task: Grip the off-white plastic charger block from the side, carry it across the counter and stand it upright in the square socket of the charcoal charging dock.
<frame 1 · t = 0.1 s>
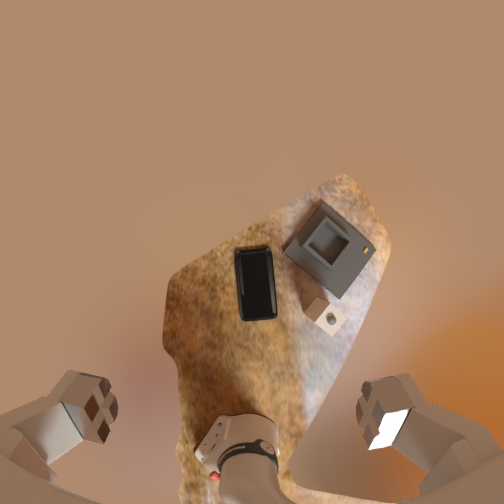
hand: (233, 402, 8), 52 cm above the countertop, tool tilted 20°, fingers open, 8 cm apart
dock: (331, 250, 60), on the countertop
charger: (317, 311, 59), on the countertop
phone: (255, 284, 60), on the countertop
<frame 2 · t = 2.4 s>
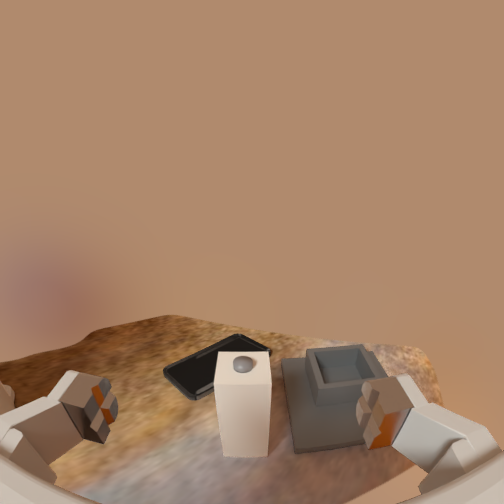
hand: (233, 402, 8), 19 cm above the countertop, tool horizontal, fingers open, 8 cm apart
dock: (342, 397, 31), on the countertop
charger: (245, 441, 25), on the countertop
phone: (218, 367, 38), on the countertop
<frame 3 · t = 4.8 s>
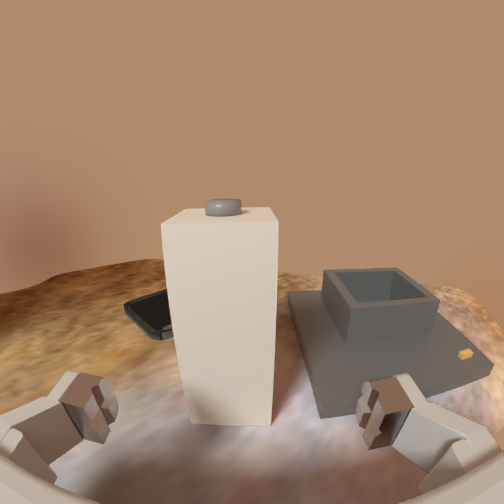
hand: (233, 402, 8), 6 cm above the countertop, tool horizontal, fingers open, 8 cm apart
dock: (380, 336, 21), on the countertop
charger: (232, 399, 15), on the countertop
phone: (201, 306, 29), on the countertop
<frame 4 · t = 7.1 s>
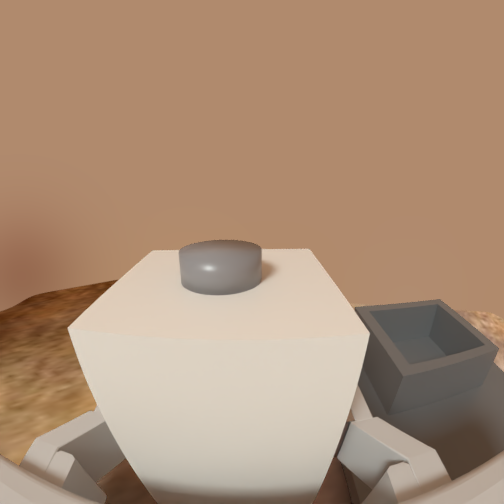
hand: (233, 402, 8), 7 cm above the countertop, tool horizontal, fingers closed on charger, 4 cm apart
dock: (423, 392, 14), on the countertop
charger: (240, 503, 9), on the countertop, touching gripper
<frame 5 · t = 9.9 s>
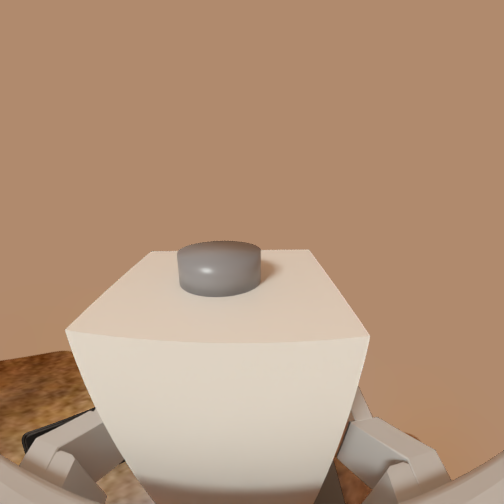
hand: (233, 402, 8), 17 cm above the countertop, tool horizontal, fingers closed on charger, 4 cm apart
phone: (89, 446, 19), on the countertop
when the fingers open (9 cm above the countertop, at t = 12.8 s): charger drops 1 cm, resting on dock.
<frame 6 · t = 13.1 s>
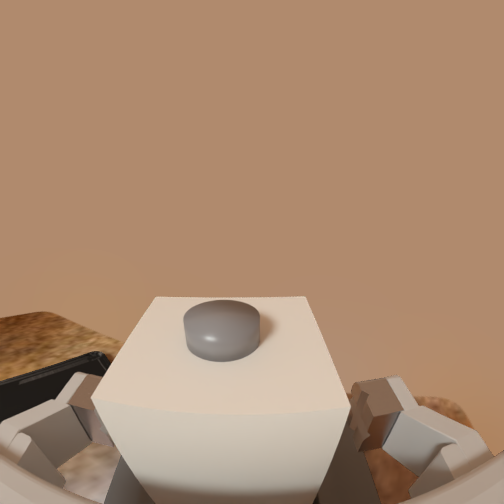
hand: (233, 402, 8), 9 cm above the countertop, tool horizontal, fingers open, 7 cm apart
phone: (45, 407, 15), on the countertop
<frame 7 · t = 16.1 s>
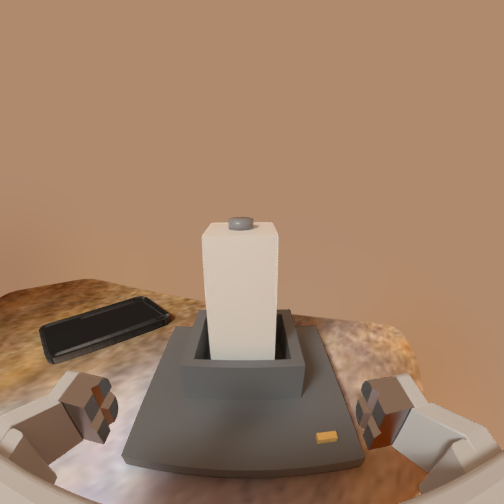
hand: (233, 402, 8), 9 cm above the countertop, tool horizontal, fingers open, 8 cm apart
dock: (243, 390, 20), on the countertop
charger: (243, 365, 21), point 1 cm above the countertop, touching dock
phone: (102, 332, 27), on the countertop
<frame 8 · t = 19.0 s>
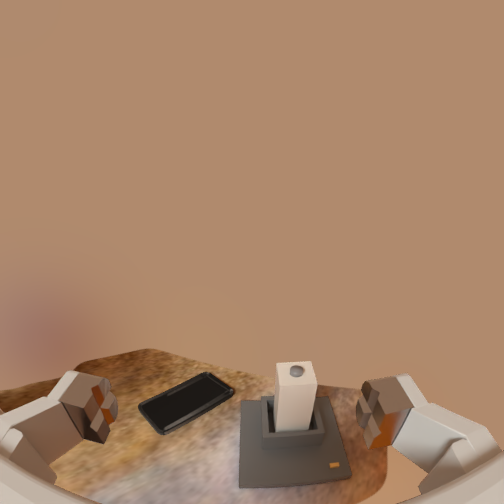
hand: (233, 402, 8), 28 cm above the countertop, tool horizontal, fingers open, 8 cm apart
dock: (290, 441, 33), on the countertop
charger: (289, 427, 34), point 1 cm above the countertop, touching dock
phone: (186, 404, 41), on the countertop
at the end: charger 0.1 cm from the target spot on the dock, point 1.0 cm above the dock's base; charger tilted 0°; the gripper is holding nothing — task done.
